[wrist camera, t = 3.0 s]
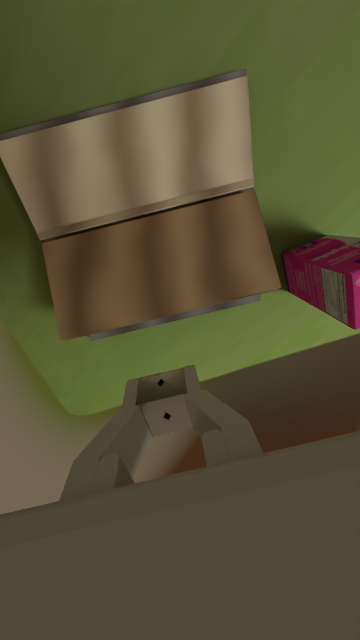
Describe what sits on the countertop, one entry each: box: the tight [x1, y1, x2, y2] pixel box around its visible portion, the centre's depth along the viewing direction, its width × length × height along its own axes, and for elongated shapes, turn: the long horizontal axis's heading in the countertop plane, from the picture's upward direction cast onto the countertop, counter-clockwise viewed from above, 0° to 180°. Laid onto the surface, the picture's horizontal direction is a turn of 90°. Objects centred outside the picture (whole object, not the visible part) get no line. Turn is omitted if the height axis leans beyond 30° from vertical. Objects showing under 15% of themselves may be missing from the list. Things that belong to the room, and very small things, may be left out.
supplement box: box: [282, 235, 360, 330], centre depth 23 cm, size 6×6×12 cm
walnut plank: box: [42, 190, 281, 340], centre depth 22 cm, size 22×10×2 cm, turn 103°
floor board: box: [0, 69, 260, 341], centre depth 24 cm, size 23×22×3 cm
